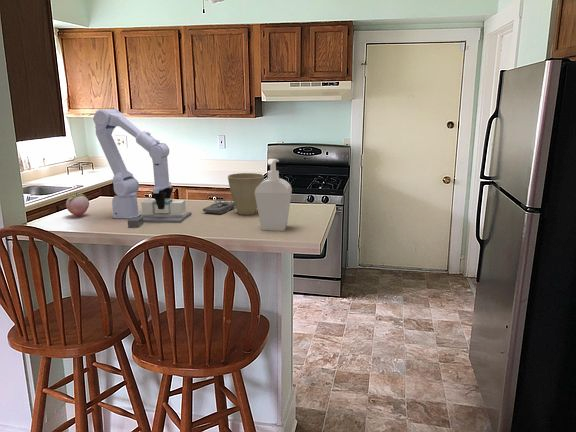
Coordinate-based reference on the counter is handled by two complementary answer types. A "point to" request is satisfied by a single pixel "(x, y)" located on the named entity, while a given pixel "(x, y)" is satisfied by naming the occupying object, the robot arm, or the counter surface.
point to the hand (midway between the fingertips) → (163, 207)
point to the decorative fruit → (77, 204)
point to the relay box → (135, 222)
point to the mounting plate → (174, 216)
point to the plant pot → (244, 191)
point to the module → (166, 207)
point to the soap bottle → (273, 200)
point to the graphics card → (220, 206)
